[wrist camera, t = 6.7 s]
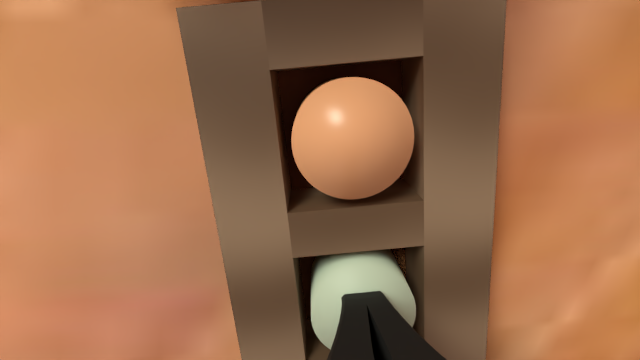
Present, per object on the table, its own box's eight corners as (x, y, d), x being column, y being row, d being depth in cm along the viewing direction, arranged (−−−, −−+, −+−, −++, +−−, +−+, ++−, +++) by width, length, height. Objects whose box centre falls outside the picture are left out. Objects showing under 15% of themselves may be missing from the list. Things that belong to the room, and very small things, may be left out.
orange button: (395, 172, 13) (414, 193, 11) (300, 181, 13) (298, 204, 11) (393, 72, 12) (413, 71, 10) (289, 81, 12) (284, 83, 10)
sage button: (399, 308, 15) (416, 352, 12) (314, 316, 15) (316, 362, 12) (397, 230, 14) (415, 263, 11) (306, 239, 14) (305, 273, 11)
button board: (454, 437, 18) (477, 494, 15) (276, 454, 18) (270, 514, 15) (467, -3, 12) (507, -23, 9) (202, 21, 12) (176, 7, 9)
